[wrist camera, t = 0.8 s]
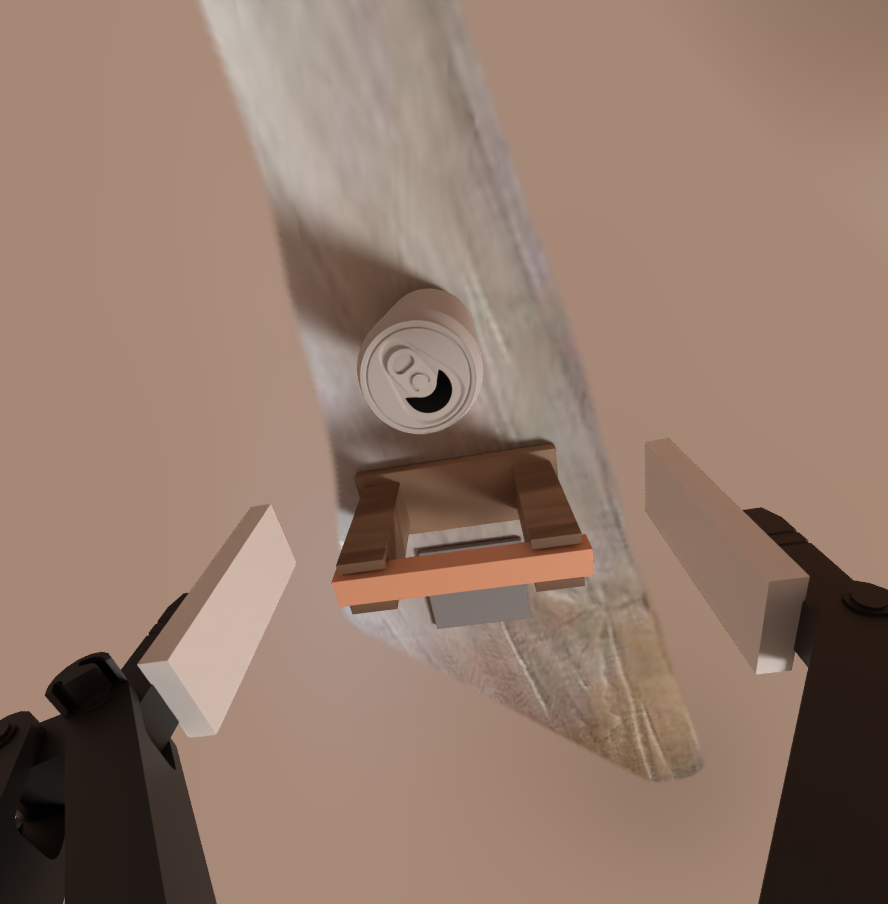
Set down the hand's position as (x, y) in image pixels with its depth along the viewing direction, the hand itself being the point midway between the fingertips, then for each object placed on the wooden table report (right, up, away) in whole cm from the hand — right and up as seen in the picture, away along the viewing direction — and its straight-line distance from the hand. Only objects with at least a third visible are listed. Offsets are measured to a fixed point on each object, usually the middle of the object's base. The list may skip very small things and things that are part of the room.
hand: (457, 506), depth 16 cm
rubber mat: (+3, -10, +26) cm, 28 cm away
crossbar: (+1, -5, +13) cm, 14 cm away
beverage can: (-1, +10, +17) cm, 20 cm away
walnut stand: (+1, -1, +22) cm, 22 cm away
